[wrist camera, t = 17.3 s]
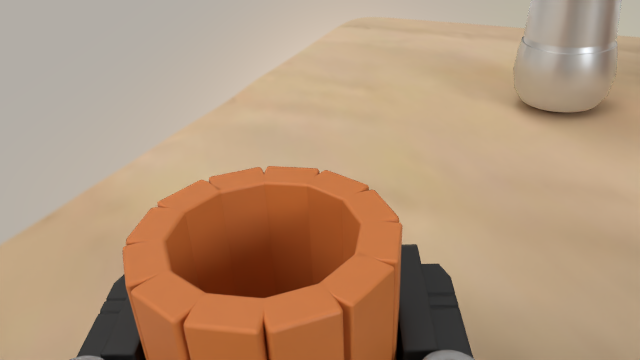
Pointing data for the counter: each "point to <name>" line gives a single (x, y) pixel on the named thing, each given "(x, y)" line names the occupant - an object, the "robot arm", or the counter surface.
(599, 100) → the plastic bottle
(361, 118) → the counter surface
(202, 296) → the orange grooved tube
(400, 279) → the robot arm
